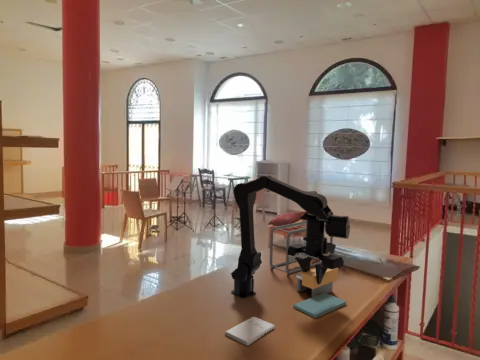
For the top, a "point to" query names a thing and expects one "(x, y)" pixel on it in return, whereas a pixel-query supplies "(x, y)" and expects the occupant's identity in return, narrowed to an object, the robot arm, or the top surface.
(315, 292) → the dispenser
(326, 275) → the tan rectangular slab
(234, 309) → the top surface
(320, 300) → the mat
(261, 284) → the top surface
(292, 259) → the newton's cradle
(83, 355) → the top surface
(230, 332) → the external hard drive
